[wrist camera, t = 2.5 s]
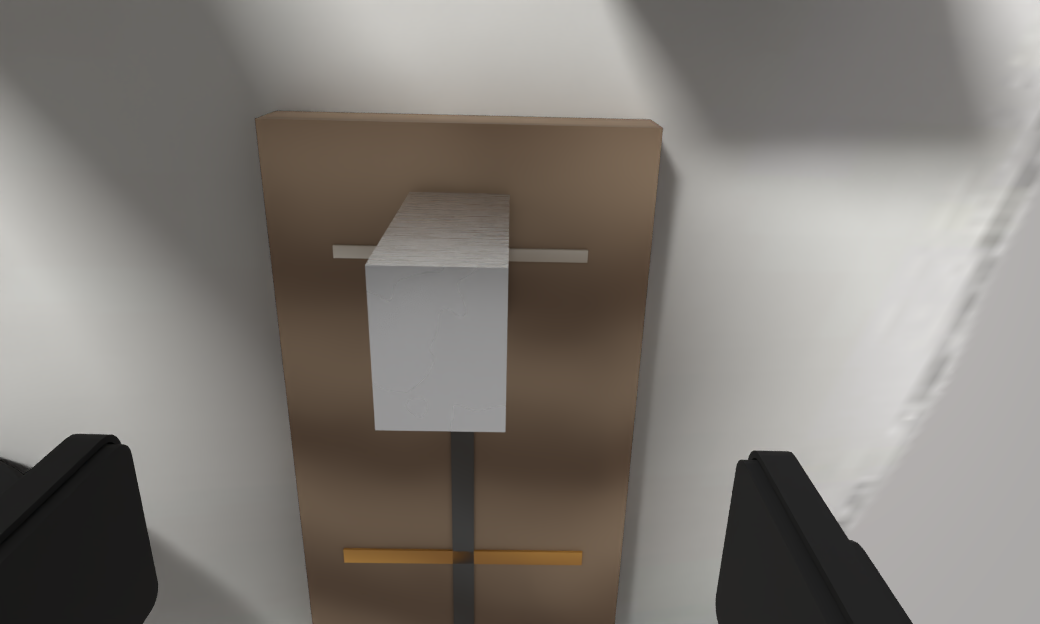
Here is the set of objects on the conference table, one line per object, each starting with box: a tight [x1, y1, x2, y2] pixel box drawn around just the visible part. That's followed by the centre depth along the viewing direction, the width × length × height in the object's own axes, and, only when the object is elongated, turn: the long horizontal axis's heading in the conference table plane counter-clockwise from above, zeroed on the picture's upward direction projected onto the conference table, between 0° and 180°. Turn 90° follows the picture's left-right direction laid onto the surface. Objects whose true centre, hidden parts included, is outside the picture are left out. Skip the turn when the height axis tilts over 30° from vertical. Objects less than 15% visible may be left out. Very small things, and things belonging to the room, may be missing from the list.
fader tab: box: [365, 192, 510, 432], centre depth 19 cm, size 4×3×7 cm
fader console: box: [255, 111, 663, 624], centre depth 26 cm, size 22×12×2 cm, turn 179°
